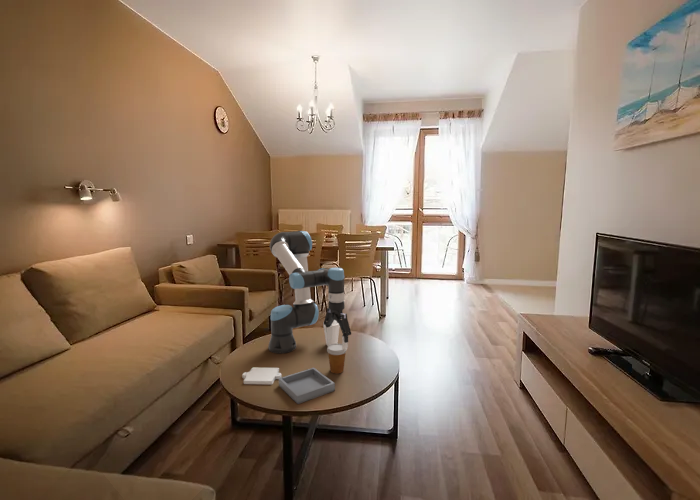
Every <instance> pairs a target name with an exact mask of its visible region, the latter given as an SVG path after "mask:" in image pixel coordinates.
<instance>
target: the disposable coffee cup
mask: <svg viewBox="0 0 700 500" xmlns="http://www.w3.org/2000/svg"><path fill="white" fill-rule="evenodd" d="M347 350H348V348H347V349H342V343H336V344H331V345H329V346H327V348H326V352H327V355H328V362H329V369H330V373H332V374H341V373H343V372H344V368H345V363H346V362H345V361H346V353H347Z"/></svg>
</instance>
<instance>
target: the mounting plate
mask: <svg viewBox="0 0 700 500" xmlns="http://www.w3.org/2000/svg"><path fill="white" fill-rule="evenodd" d="M241 376H242V379H243V384H244V385H273V384H274V382H275V380H279V378H282V373H281V372H280V368H279V367H257V366H256V367H252V368H251V369H250V370H249V371H244V372H243V373H242V375H241Z"/></svg>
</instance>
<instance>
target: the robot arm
mask: <svg viewBox="0 0 700 500" xmlns="http://www.w3.org/2000/svg"><path fill="white" fill-rule="evenodd" d="M312 248H313V239H312V236H311V235H310V233H309V232H308V231H304V230H297V231H281V232H278V233H276V234H275V235H273V236H272V238H271V239H270V241H269V250H270V253H271V254H272V255H273V257H275V258H277V260H279V262H280V264H281V265H282V266H283V268H284V269H285V271H286V272H287V274H288V276H289V278H288V282H289V286H290V288H291V289H293V290H294V296H295V297H294V298H295V301H294V302H293V303H292V304H293V306H292V305H290V304H282V305H278V306H275V307H274V308H272V310H270V317H269V319H270V331H271V335H270V339H269V342H268V351H269V352H270V353H274V354H287V353H291V352H293V351H295V350H296V349H297V342H296V340H295V337H294V333H293V329H296V328H300V327H306V326H311V325H314V324H316V323H317V321H318V319H319V307H318V305H317V304H316V303H315V301H314V300H313V299H312V298H311V297H312V296H311V288H313V287H321V286H327V287H328V288H327V289H328V290H327V291H328V296H327V298H328V307H327V308H326V314H325V316H324V320H323V323H324V325H326V330H327V331H326V332H327V341H328V340H332V323H333V321H334V320H336V321H337V323H339V326H340V327H339V329H340V330H341V332H342V335H341V336H342V337H341V342H342V343H341V344H342V349H347V350H348V349H349V336H351V335H352V331H351V326H350V324H349V323H350V322H349V321H348V314H347V313H343V311H344V310H345V307H346V306H345V300H346V299H345V271H344V269H343V268H342V267H331V268H330V267H329V268H324V267H323V268H319V269H316V270H309V263H308V256H309V255H310V251H312ZM326 321H327V322H326Z"/></svg>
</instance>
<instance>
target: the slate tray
mask: <svg viewBox="0 0 700 500" xmlns="http://www.w3.org/2000/svg"><path fill="white" fill-rule="evenodd" d="M278 387H279V388H280V389H281V390H282V391H284V393H286V395H288V396H289V397H290V398H291V400H293V401H294V403H296V404H297V405H300V404H302V403H305V402H308V401H310V400H313V399H316V398H319V397H321V396H324V395H327V394H330V393H332V392H335V389H336V383H335V382H334V381H332V380H331V379H330V378H329V377H327V376H326V375H325V374H324V373H322V372H321V371H319V370H318V369H317V368H315V367H311V368H308V369H305V370H301V371H299V372H295V373H292V374H289V375H286V376H281V378H279V379H278Z"/></svg>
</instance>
